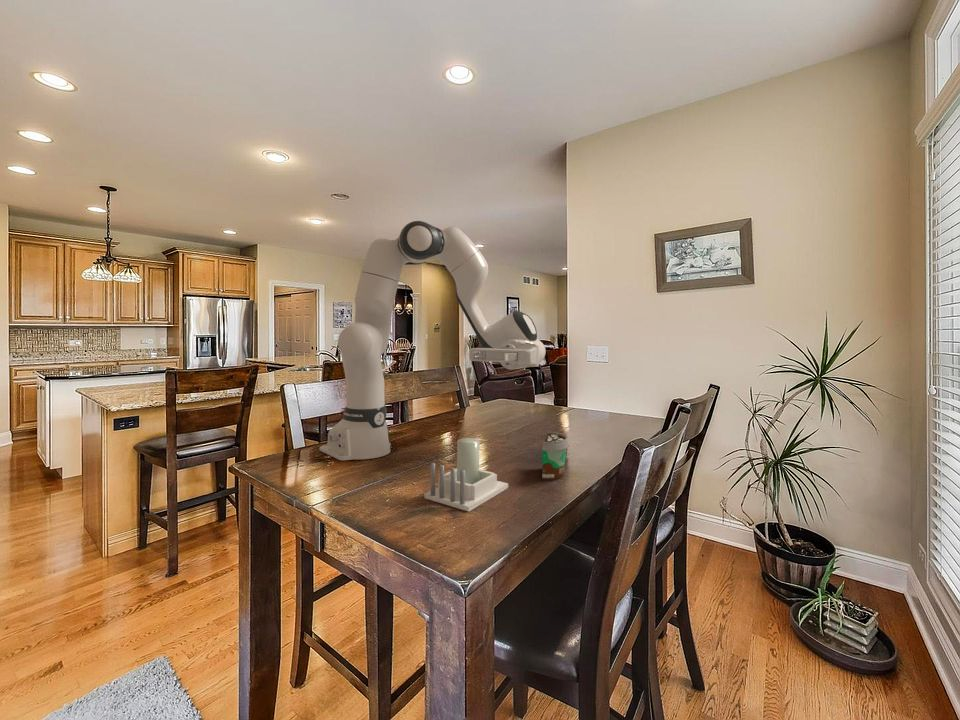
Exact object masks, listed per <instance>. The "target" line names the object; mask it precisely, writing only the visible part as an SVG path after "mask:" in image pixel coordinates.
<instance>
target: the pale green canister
mask: <svg viewBox="0 0 960 720" xmlns="http://www.w3.org/2000/svg"><path fill="white" fill-rule="evenodd" d="M456 442H457V443H456V444H457V445H456V446H457V447H456V469H457V481H460V470H465V483H468V484H474V483H476V482H478V481H479V469H480V440H479V439H478V438H472V437H462V438H458V439H457V441H456Z"/></svg>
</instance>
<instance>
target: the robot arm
mask: <svg viewBox="0 0 960 720" xmlns="http://www.w3.org/2000/svg"><path fill="white" fill-rule="evenodd" d="M481 252H482V251H480V250H479V248H478V247H477V246H476V245H475V243H474V242H473V241H472V239H471V238H469V237H468V236H467V235H466V234H465V232H463V231H462V230H461V229H460V228H459V227H456V226H448V227H446V228H444V229H440V228H439V227H436V226H433V225H431V224H430V223H428V222H426V221H423V220H413V221H411V222H408V223H407V224H406V225H405V226H403V228H402V229H401V231H400V234H399V235H398V237H397V238H396V239H388V238H378V239H377V238H376V239H375V240H373V241H372V242H370V245H369V247H368V249H367V252H366V253H365V256H364V260H363V262H362V266H361V271H360V274H359V279H358V283H357V286H356V291H355V295H354V296H355V297H354V304H355V308H354V309H355V310H354V322H353V323H350V324H348V325H347V326H346V327H345V328H343V329H342V330H341V331H340V333H339V335H338V338H337V346H338V349H339V351H340V354H341V360H342V361H341V362H342V366H343V371H344V372H343V373H344V377H345V392H346V393H345V397H346V405H345V407H344V408H343V407H342V408H341V411H340V413H343V414H342V419H341V420H339V422H338V423H336V424H335V425H334V426H333V427H332V428H330V429H329V431H328V433H327V443H326V444H322V445H321V446H320V447H319V452H322V453H324V454H326V455H328V456H330V457H333V458H335V459H336V460H338V461H350V460H370V459H377V458H380V457H384V456H387V455H389V454H390V453H391V450H392V449H391V447H392V444H391V442H390V441H389V432H388V431H389V430H388V423H387V421H386V418H387V413H388V411H387V405H386V403H385V400H386V399H385V396H386V395H385V392H386V391H385V389H386V388H385V377H384V372H383V367H382V360H381V359H382V358H381V356H382V355H383V354H384V353H385V351H386V350H387V348H388V344H389V338H390V337H389V336H390V332H391V324H392V317H393V310H394V309H393V308H394V303H395V299H396V296H397V291H398V286H399V282H400V277H401V273H402V270H403V268H404V266H406V265H407V266H409V265H410V266H411V265H412V266H413V265H421V264H424V263H426V262H427V261H429V260H430V259H436V260H438V261H440V262H441V263H442V264H443V265H444V266H445V267H446V270H447V271H448V273H450V274H451V276H452V278H453V279H454V283H455V287H456V290H455V297H456V300H457V302H458V304H459V306H460V308H461V310H462V312H463V313H464V316H465V318H466V319H467V321H468V323H469V324H470V326H471V328H472V330H473V332H474V334H475V335H476V338H477V341H478V343H479V346H480V347H472V348H470V349H469V352H468V358H469V361H471V362H485V363H486V362H488V363H489V362H490V363H499V364H500V365H501V366H502V367H503V368H505V369H507V370H517V369H518V370H519V369H523V368H524V369H525V368H535V367H539V366H540V364H541V363H542V362H543V360H544V359H545V357H546V346H545V344H544V343H543V342H542V341H541V340H540V339H539V338H538V332H537V331H538V330H537V328H536V325H535V323H534V321H533V319H532V318H531V317H530V316H529V315H528V314H526V313H524V312H522V311H520V310H513V311H512V312H510V313H508V314H507V315H505V316H504V317H502V318H501V319H500V320H498V321H496V322H495V323H492V325H491V324H489V323H488V322H487V319H486V318H485V317H484V314H483V312H482V310H481V309H480V307H479V305H478V300H477V299H478V296H479V293H480V292H481V290H482V288H483V286H484V285H485V283H486V281H487V278H488V276H489V265H488V261H487V259H486V258H485V256H484V255H483V254H482V253H481Z"/></svg>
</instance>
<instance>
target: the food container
mask: <svg viewBox="0 0 960 720" xmlns="http://www.w3.org/2000/svg"><path fill="white" fill-rule="evenodd" d="M569 447H570V443H569V438H568V437H567V435H566V434H563V433H561V432H557V431H548V430H547V431H546V437H545V438H544V441H542V447H541V448H542V449H541V451H542V454H541V455H542V456H541V458H542V459H541V461H542V462H541V463H542V465H541V466H542V472H541V473H542V474H541V476H542V477H541V480H542V481H543V480H544V481H545V482H549V481H548V480H553V481H557V480H558V479H559V480H561V479H563V478H564V476H565V466H566V456H567V449H568V448H569ZM562 477H563V478H562ZM560 478H561V479H560Z"/></svg>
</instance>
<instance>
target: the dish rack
mask: <svg viewBox="0 0 960 720" xmlns="http://www.w3.org/2000/svg"><path fill="white" fill-rule="evenodd" d="M438 467H439V472H438V473H439V474H438V475H439V476H438V479H437V483H438V484H437V485H438V487H436V462H431V463H430V490H429V491H428V492H424V495H423V497H424V499H426V500H429V501H433V502H435V503H440V504H443V505H446V506H449V507H453V508H456V509H459V510H462V511H465V512H470V511H472V510H474V509H476V508H477V507H479V506H480V505H482V504H484V503H486V502H487V501H488V500H490V499H492V498H493V497H495V496H497V495H499V494H501V493H502V492H503V491H505V490H507V489H509V483H507V482H504V481H499V480H498V474H497V473H495V472H492V471H487V470H483V469H480V468H479V481H478V482H476V483H474V484H468V483H465V470H460V481H457V468H456V467H450V470H449V472H446V473H445V465H444V464H440V465H439V466H438Z"/></svg>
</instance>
